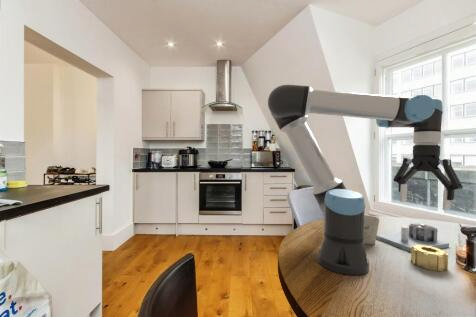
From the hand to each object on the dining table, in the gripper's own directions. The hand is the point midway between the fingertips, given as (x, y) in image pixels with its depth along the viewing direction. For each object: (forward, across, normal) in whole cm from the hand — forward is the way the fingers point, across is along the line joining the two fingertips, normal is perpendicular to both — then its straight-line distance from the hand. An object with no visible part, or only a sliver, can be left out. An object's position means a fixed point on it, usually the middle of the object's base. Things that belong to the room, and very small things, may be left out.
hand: (423, 205), depth 84 cm
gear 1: (+17, +9, -17) cm, 26 cm away
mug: (+19, +18, +7) cm, 27 cm away
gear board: (+18, +10, -12) cm, 24 cm away
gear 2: (+18, -5, +4) cm, 19 cm away
